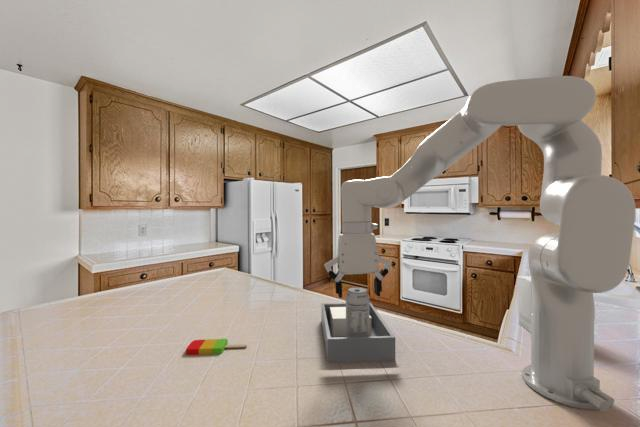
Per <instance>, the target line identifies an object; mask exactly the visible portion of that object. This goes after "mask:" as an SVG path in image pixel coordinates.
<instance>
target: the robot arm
mask: <svg viewBox="0 0 640 427" xmlns="http://www.w3.org/2000/svg"><path fill="white" fill-rule="evenodd" d="M596 97H597V93H596V89H595V87H594V86H593V84H592V83H591V82H589V81H588V80H586V79H584V78H583V77H578V76H571V75H557V76H545V77H544V76H543V77H534V78H521V79H511V80H503V81H495V82H490V83H486V84H484V85H482V86H479V87H478V88H476V89H475V90H474V91H473V92H472V93H471V94H470V96H469V97H468V99H467V101H466V103H465V105H464V107H462V108H461V109H460V110H458V112H457V113H455V114H454V115H452V116H451V117H450V118H449V119H448V120H447V121H446V122H444V123H443V124H442V125H440V127H438V128H437V129H435V130H434V131H433V132H432V133H431V134H430V135H428V136H427V137H426V138H425V139H424V140H423V141H422V142H421V143H420V144H418V146H417V148H416V150H415V151H414V152H413V153H412V156H411V157H410V158H409V159H408V160H407V161H406V163H404V164H403V165H402V166H401V167H400V168H399V169H398V170H396V171H395V172H394V173H393V174H391V175H390V176H381V177H375V178H369V179H365V180H364V179H352V180H351V179H350V180H346V181H344V182H343V183H342V184H341V187H340V188H341V190H340V191H341V192H340V193H341V194H340V195H341V196H340V197H341V198H340V199H341V228H342V229H341V230H342V233H340V234H339V236H338V241H337V256H335V257H334V258H332V259H330V260H329V261H327V262H325V263H324V264H323V266H324V269H325V270H326V272H327V274H328V276H329V277H331V278H332V279H333V281H334V283H335V284H334V285H335V286H334V288H335V294H336V295H337V296H338V299H341V298H343V282H342V278H343V277H344V276H345V275H364V274H367V275H368V274H369V275H370V274H373V275H374V276H375V277H374V278H373V290H374V291H373V292H374V294H375V295H376V296H377V297H381V292H383V283H382V282H383V279H384V278H385V277H386V276H387V275H388V273H389V270H390V268H391V266H392V264H393V263H392V262H391V261H390V260H388V259H386V258H385V257H382V256H380V255H379V253H378V246H377V245H378V244H377V240H376V235H375V233H373V232H374V230H377V229H378V223H373V221H372V208H377V209H379V208H380V209H392V208H396V207H398V206H399V205H400V204H402V203H403V202H404V201H405V200H407V199H408V198H409V197H411V196H412V195H414V194H415V193H416V192H417V191H419V190H420V189H422V188H423V187H424V186H425V185H426V184H428V183H430V181H432V180H433V179H435V178H436V177H438V176H439V175H441V174H443V172H445V171H446V170H447V169H449V168H450V167H451V166H453V165H454V164H455V163H457V162H458V161H459V160H460V159H461V158H463V157H464V156H466V155H467V154H468V153H469V152H471V151H472V150H473V149H475V148H476V147H478V146H479V145H480V144H481V143H483V142H484V141H486V140H487V139H488V138H489V137H491V136H492V135H493V134H494V133H495V132H497V131H498V130H499V129H500V128H501V127H503V126H505V127H506V126H507V127H508V126H510V127H511V126H512V127H513V126H517V128H518V130H519V132H520V133H521V134H522V135H523V136H524V137H526V138H527V139H530V140H531V141H532V142H534V143H535V144H537V145H538V147H539V148H540V149H541V151H542V154H543V175H542V184H541V193H540V198H539V210H540V211H539V212H540V214H541V216H542V217H543V218H544V219H545V220H546V221H547V222H549V223H550V224H553V225H555V226H559V228H558V232H551V233H547V234H544V235H541V236H540V237H538V238H537V239H535V240H534V241H533V243H532V244H531V246H530V248H529V251H528V267H529V273H530V274H529V276H531V285H532V331H531V332H530V333H531V334H530V335H531V346H530V349H531V350H530V351H531V352H530V353H531V354H530V360H531V362H530V363H531V364H530V365H527V366H525V367H523V369H521V370H522V371H521V376H522V379H523V382H525V383H526V385H528V386H529V387H530V388H531V389H532V390H534V391H535V392H537V393H538V394H540V395H542V396H544V397H545V398H548V399H550V400H551V401H554V402H557V403H560V404H562V405H566V406H569V407H573V408H578V409H584V410H599V411H600V412H602V413H606V412H609V411H610V408H611V406H613V404H614V403H615V399H614V398H613V397H612V396H610V395H608V394H607V393H605V392H603V391H602V389H601V386H600V385H601V382H600V379H599V378H597V377H595V376H594V374H595V372H594V371H595V368H594V367H595V316H596V314H595V313H596V312H595V311H596V310H595V309H596V307H595V306H596V305H595V298H594V294H602V293H607V292H609V291H611V290H614V289H615V288H617V287H618V286H619V285H620V284H621V283H622V282H623V280H624V279H625V278H626V275H627V273H628V269H629V267H630V262H631V255H632V246H633V238H634V229H635V221H636V211H637V210H636V202H635V199H634V196H633V194H632V192H631V190H630V189H629V188H628V186H627V185H626V184H624V183H623V182H622V181H620V180H618V179H617V178H614V177H611V176H609V175H603V174H602V157H603V152H602V145H601V141H600V139H599V137H598V135H597V134H596V133H595V132H594V131H593V129H592V128H591V127H590V126H589V125H587V124H586V123H585V122H584V121H583V119H584V118H585V117H586V116H587V115H588V114H590V112H591V111H592V109H593V107H594V105H595V103H596V99H597V98H596ZM379 262H380V263H382V264H383V267H382V268H381V269H380V271H379V268H380V266H379ZM335 265H337V269H338V271H337V272H336V273H335V271H333V269H332V267H333V266H335Z"/></svg>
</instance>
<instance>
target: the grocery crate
mask: <svg viewBox="0 0 640 427" xmlns="http://www.w3.org/2000/svg"><path fill="white" fill-rule="evenodd" d="M330 307H346V302H331V303H330V302H329V303H321V326H322V333H323V340H324V349H325V355H326V360H327V364H335V363H342V364H343V363H365V362H366V363H369V362H370V363H372V362H395V361H396V336H395V335H394V333H393V331H391V329H390V328H389V326H388V325H387V323H386V322H385V321H384V319H383V318H382V316H381V315H380V313H379V312H378V311H377V309H376V308H375V307H374V305H373V303H372V302H369V315H370V316H371V335H369V337H346V336H333V335H332V331H331V326H330Z"/></svg>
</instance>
